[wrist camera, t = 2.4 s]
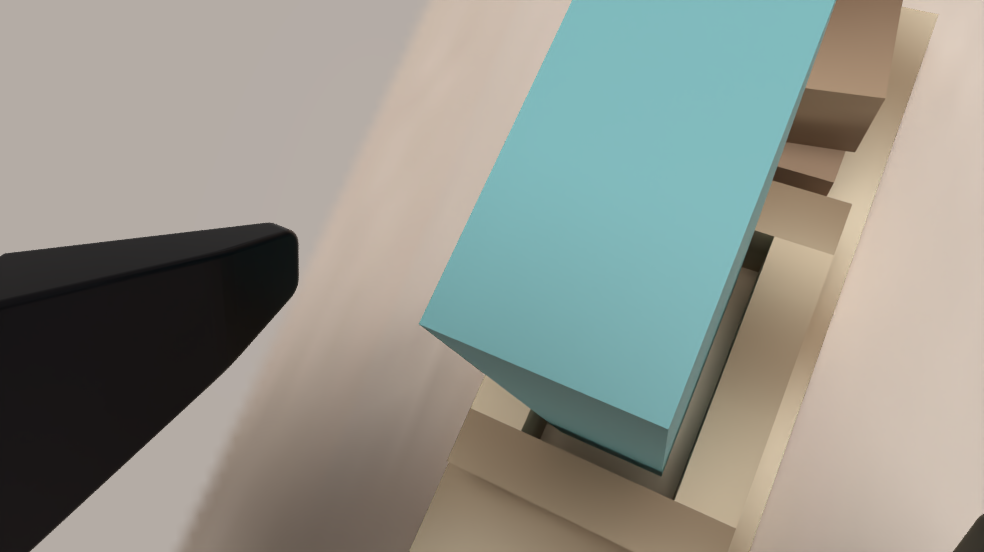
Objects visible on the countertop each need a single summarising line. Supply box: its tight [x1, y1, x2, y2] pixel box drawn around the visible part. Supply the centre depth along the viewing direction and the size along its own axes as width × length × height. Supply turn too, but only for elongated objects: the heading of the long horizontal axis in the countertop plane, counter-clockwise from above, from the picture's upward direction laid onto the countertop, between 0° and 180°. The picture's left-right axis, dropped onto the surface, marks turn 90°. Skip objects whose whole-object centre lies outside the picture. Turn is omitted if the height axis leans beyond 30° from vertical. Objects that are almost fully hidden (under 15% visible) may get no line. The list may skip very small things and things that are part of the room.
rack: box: [409, 7, 939, 552], centre depth 17 cm, size 18×7×4 cm, turn 155°
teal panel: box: [419, 0, 836, 476], centre depth 12 cm, size 5×2×11 cm, turn 155°
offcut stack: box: [772, 0, 903, 196], centre depth 17 cm, size 5×5×4 cm
